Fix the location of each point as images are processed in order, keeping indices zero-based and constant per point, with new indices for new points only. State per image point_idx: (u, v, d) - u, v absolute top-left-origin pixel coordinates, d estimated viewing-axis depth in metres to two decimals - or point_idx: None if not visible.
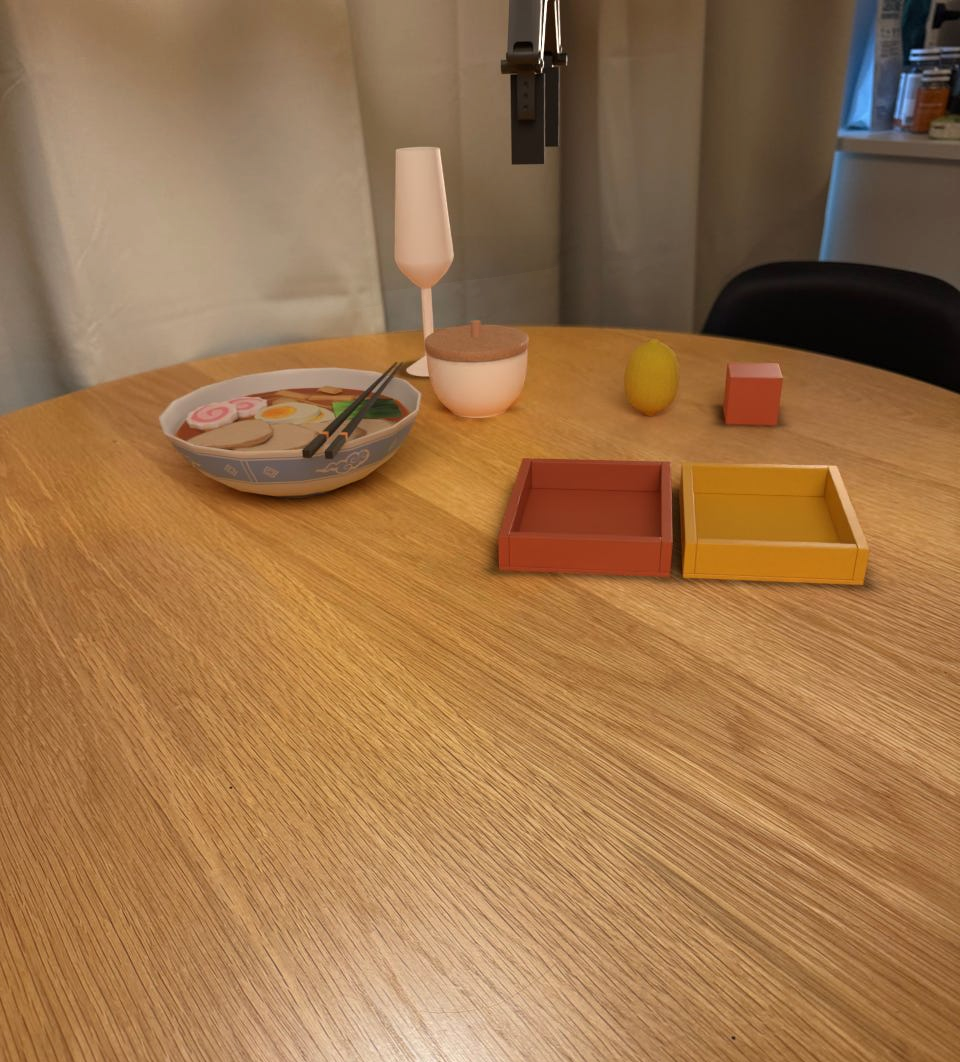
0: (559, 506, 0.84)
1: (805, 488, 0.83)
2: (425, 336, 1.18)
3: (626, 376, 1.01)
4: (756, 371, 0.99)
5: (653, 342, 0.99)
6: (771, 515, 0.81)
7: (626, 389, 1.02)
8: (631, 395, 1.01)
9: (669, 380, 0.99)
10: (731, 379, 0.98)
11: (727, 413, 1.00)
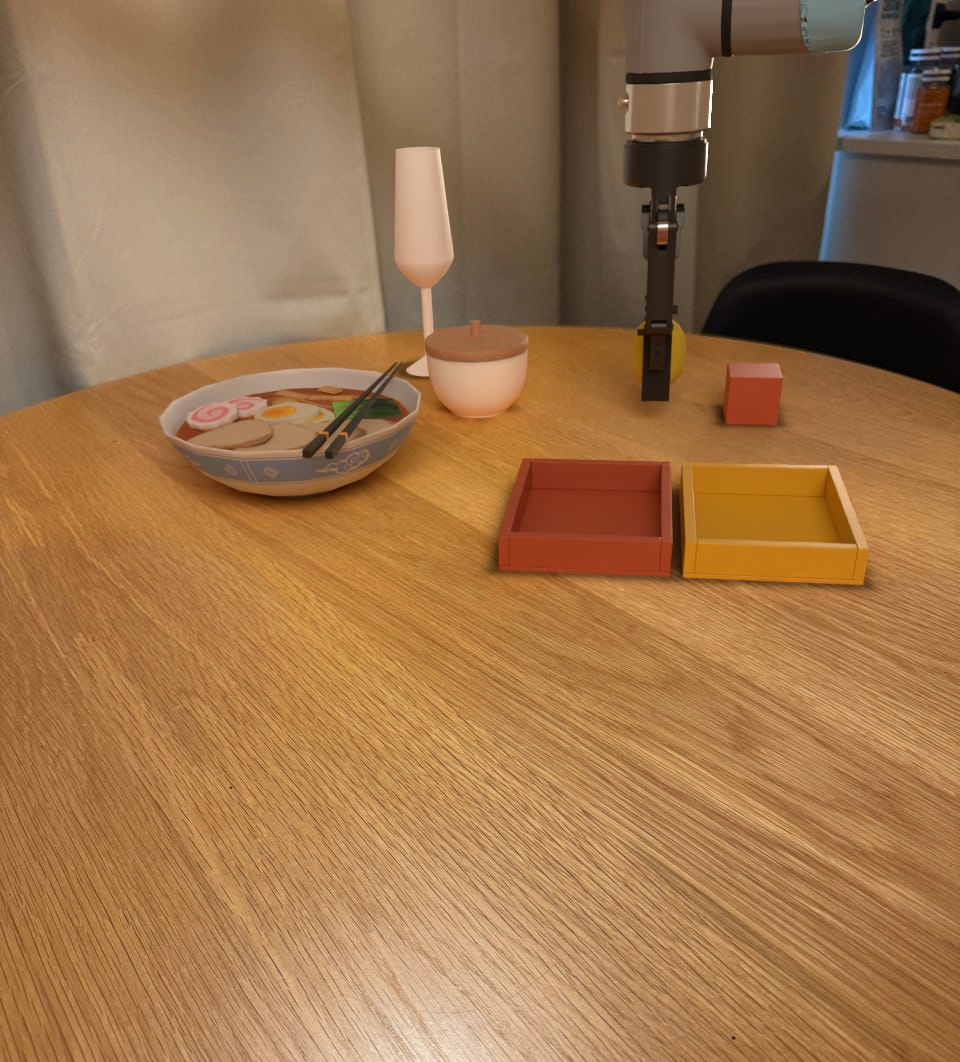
0: (559, 506, 0.84)
1: (805, 488, 0.83)
2: (425, 336, 1.18)
3: (632, 351, 1.00)
4: (756, 371, 0.99)
5: None
6: (771, 515, 0.81)
7: (632, 365, 1.00)
8: (638, 370, 1.00)
9: (675, 354, 0.98)
10: (731, 379, 0.98)
11: (727, 413, 1.00)
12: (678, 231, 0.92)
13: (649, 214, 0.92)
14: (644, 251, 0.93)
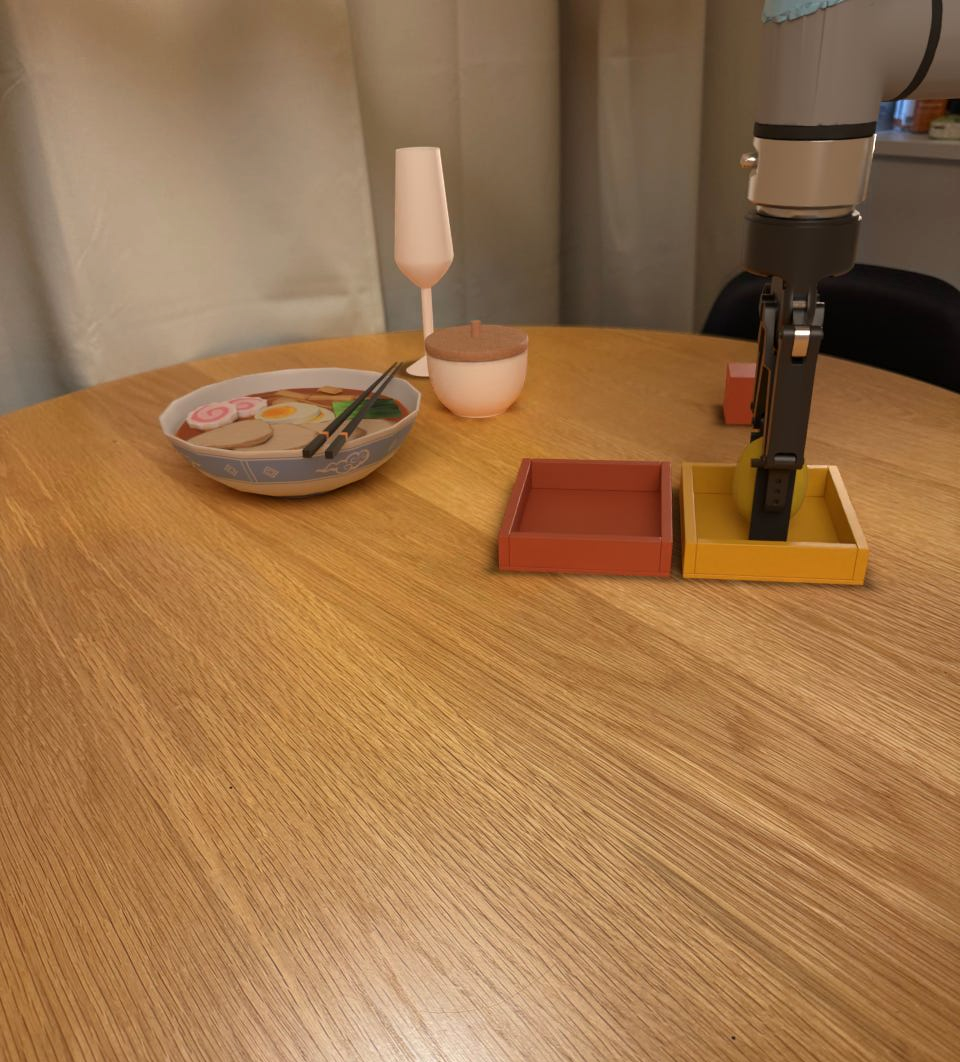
0: (559, 506, 0.84)
1: None
2: (425, 336, 1.18)
3: (737, 480, 0.76)
4: None
5: None
6: None
7: (736, 497, 0.76)
8: (744, 505, 0.76)
9: (797, 488, 0.74)
10: (731, 379, 0.98)
11: (727, 413, 1.00)
12: None
13: (776, 311, 0.68)
14: (766, 359, 0.69)
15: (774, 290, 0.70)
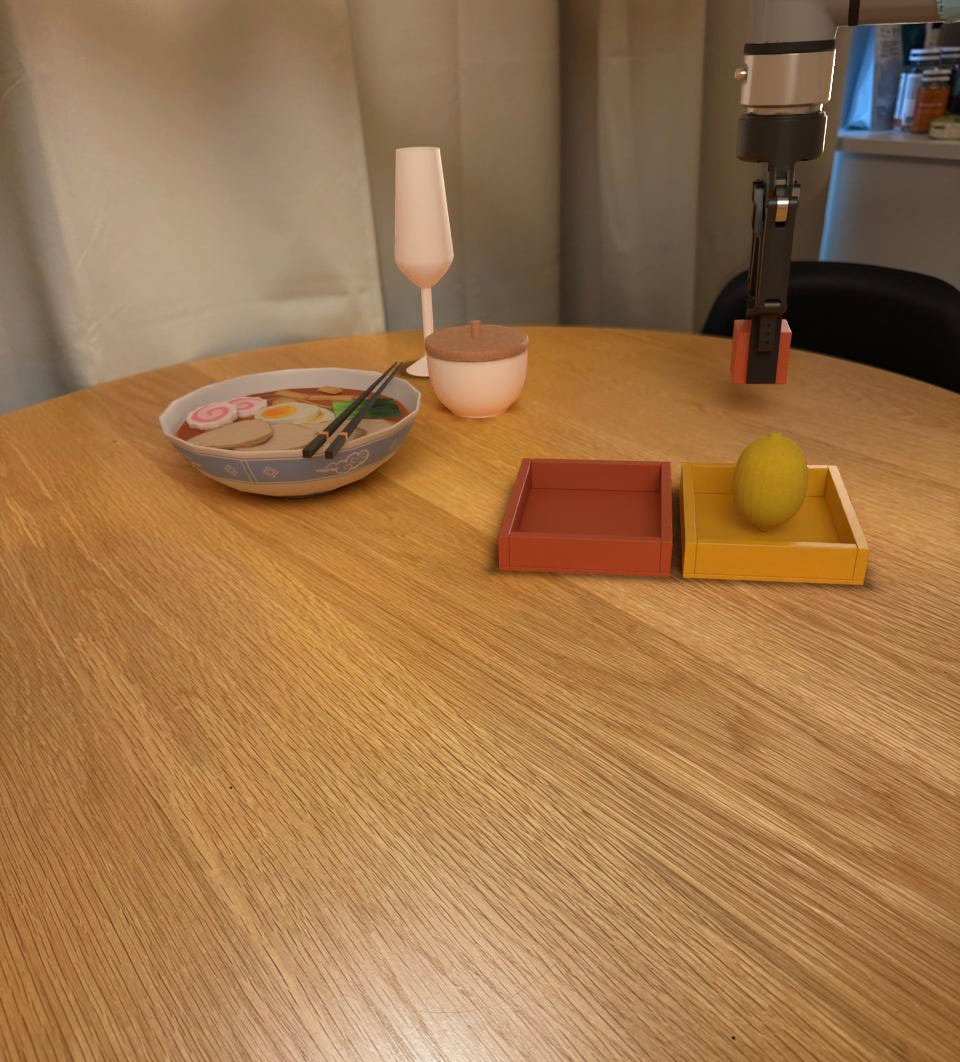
0: (559, 506, 0.84)
1: None
2: (425, 336, 1.18)
3: (737, 480, 0.76)
4: None
5: (775, 437, 0.74)
6: None
7: (736, 497, 0.76)
8: (744, 505, 0.76)
9: (797, 488, 0.74)
10: (738, 334, 0.96)
11: (735, 370, 0.98)
12: None
13: (763, 190, 0.90)
14: (757, 229, 0.91)
15: (762, 177, 0.92)
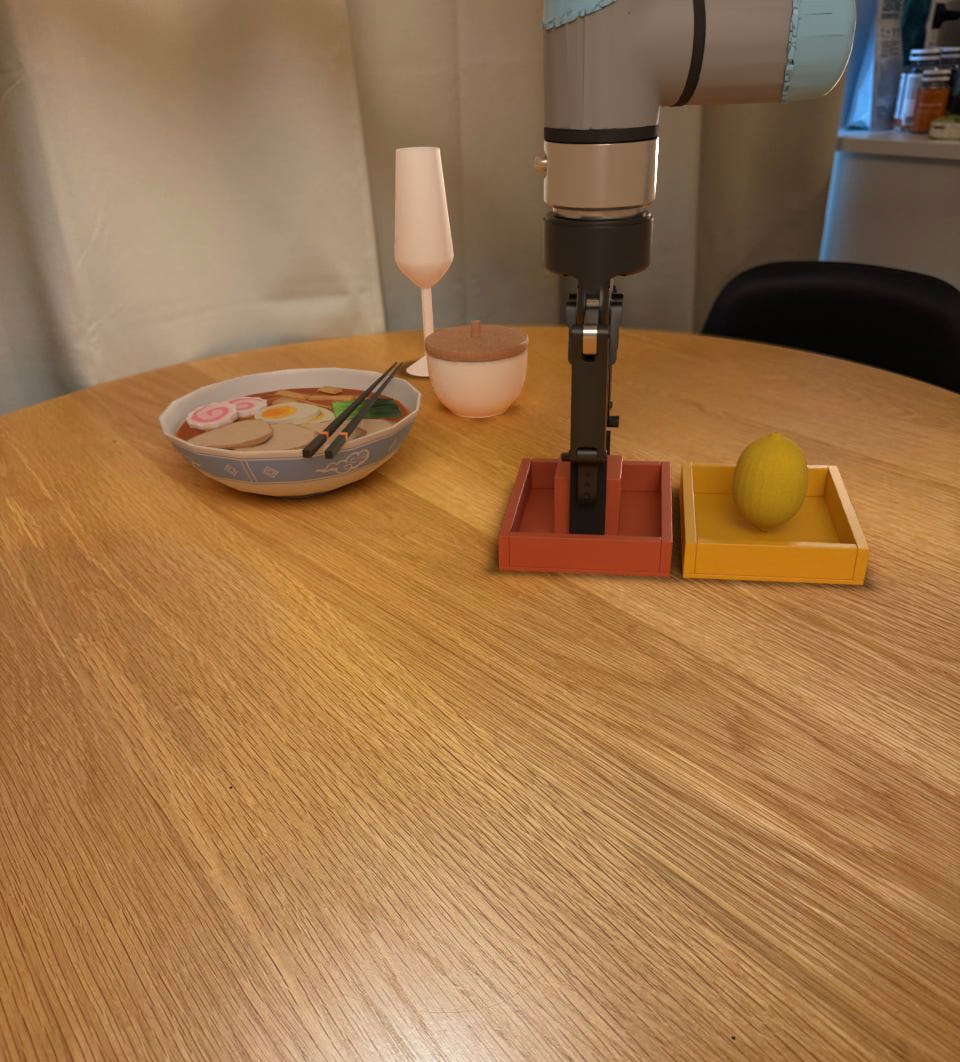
0: None
1: None
2: (425, 336, 1.18)
3: (737, 480, 0.76)
4: None
5: (775, 437, 0.74)
6: None
7: (736, 497, 0.76)
8: (744, 505, 0.76)
9: (796, 488, 0.74)
10: (556, 479, 0.76)
11: (555, 520, 0.78)
12: (614, 332, 0.70)
13: None
14: (570, 356, 0.71)
15: None
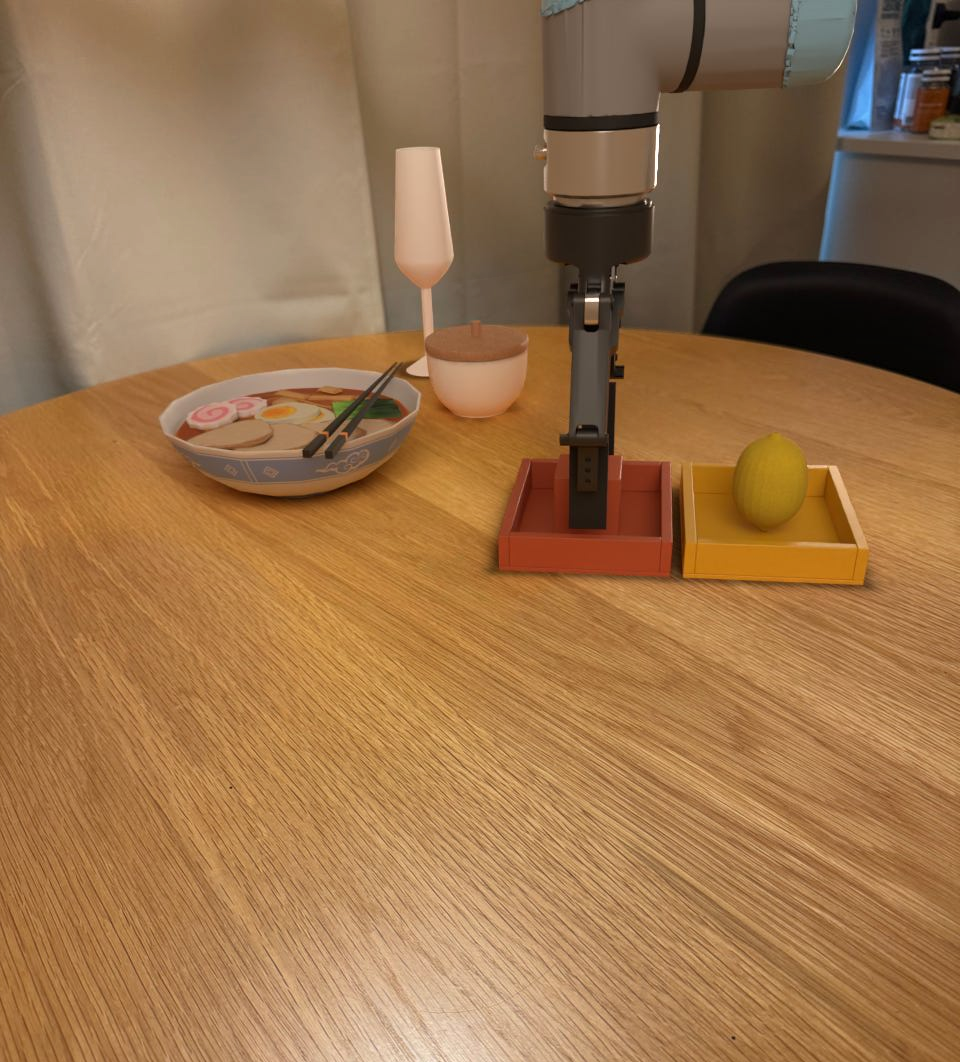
0: None
1: None
2: (425, 336, 1.18)
3: (737, 480, 0.76)
4: None
5: (775, 437, 0.74)
6: None
7: (736, 497, 0.76)
8: (744, 505, 0.76)
9: (797, 488, 0.74)
10: (556, 480, 0.76)
11: (555, 521, 0.78)
12: (616, 315, 0.69)
13: None
14: (570, 338, 0.69)
15: None
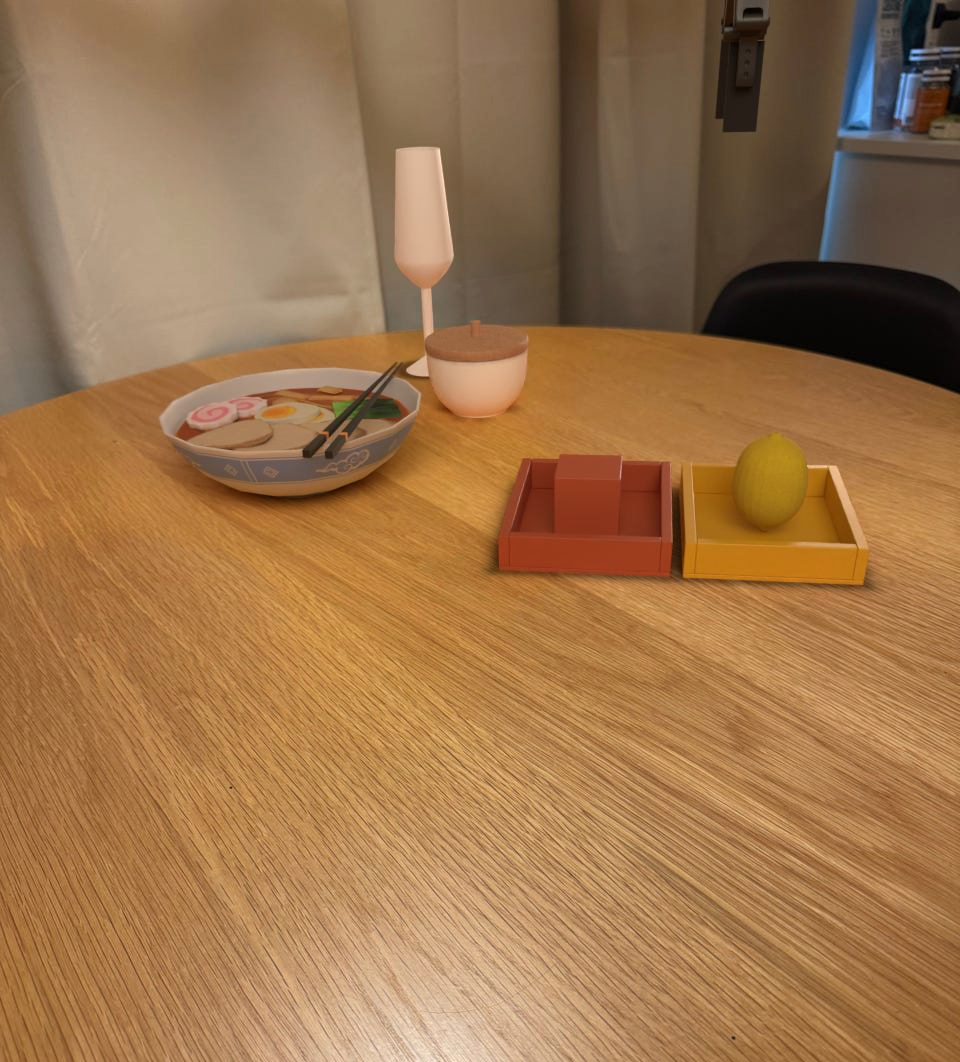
0: None
1: None
2: (425, 336, 1.18)
3: (737, 480, 0.76)
4: (590, 468, 0.77)
5: (775, 437, 0.74)
6: None
7: (736, 497, 0.76)
8: (744, 505, 0.76)
9: (797, 488, 0.74)
10: (556, 480, 0.76)
11: (555, 521, 0.78)
12: None
13: None
14: None
15: None
